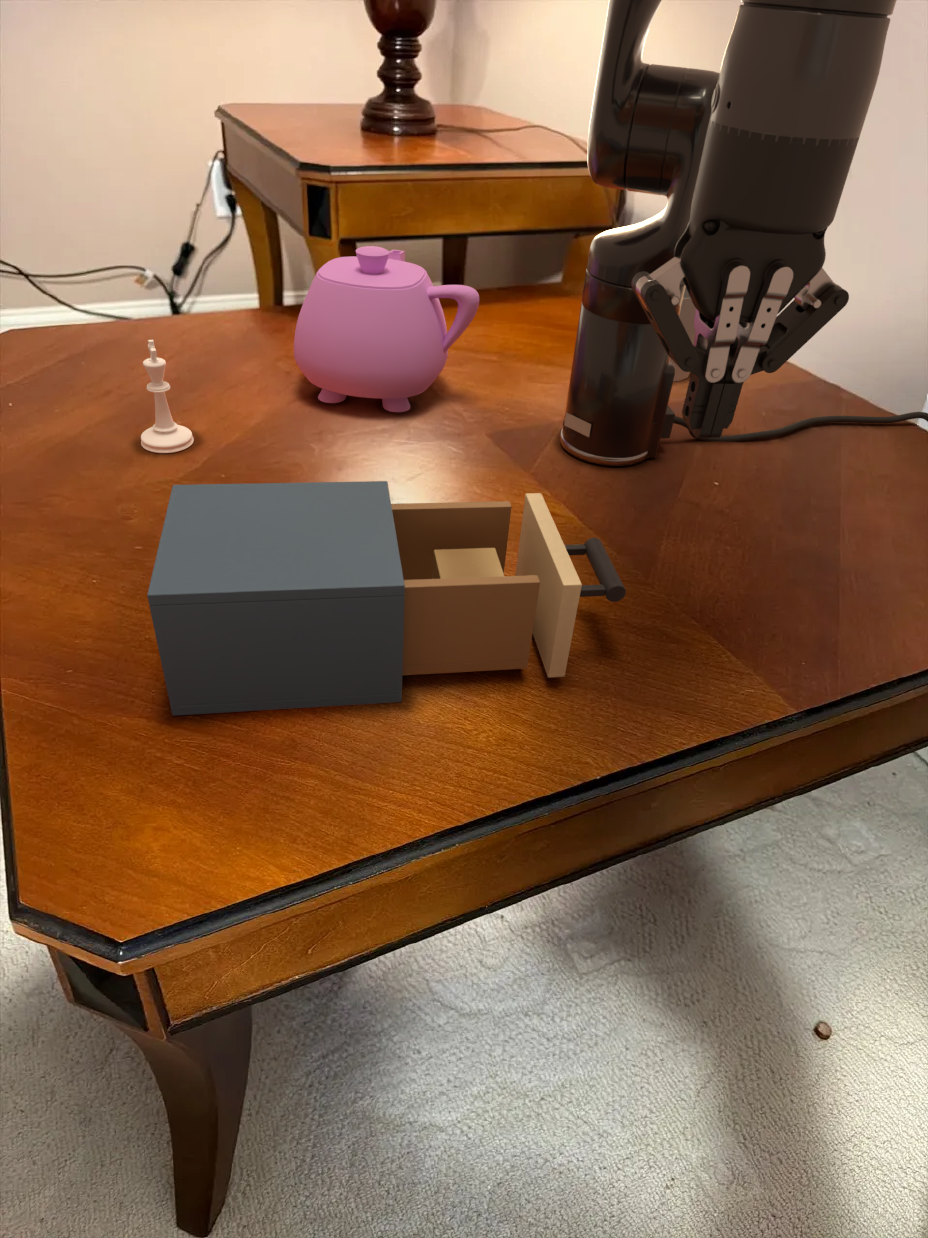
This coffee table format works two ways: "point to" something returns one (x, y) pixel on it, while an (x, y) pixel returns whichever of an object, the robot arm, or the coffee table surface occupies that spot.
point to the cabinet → (278, 597)
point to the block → (466, 563)
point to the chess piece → (162, 412)
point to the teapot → (377, 328)
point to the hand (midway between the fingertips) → (703, 432)
